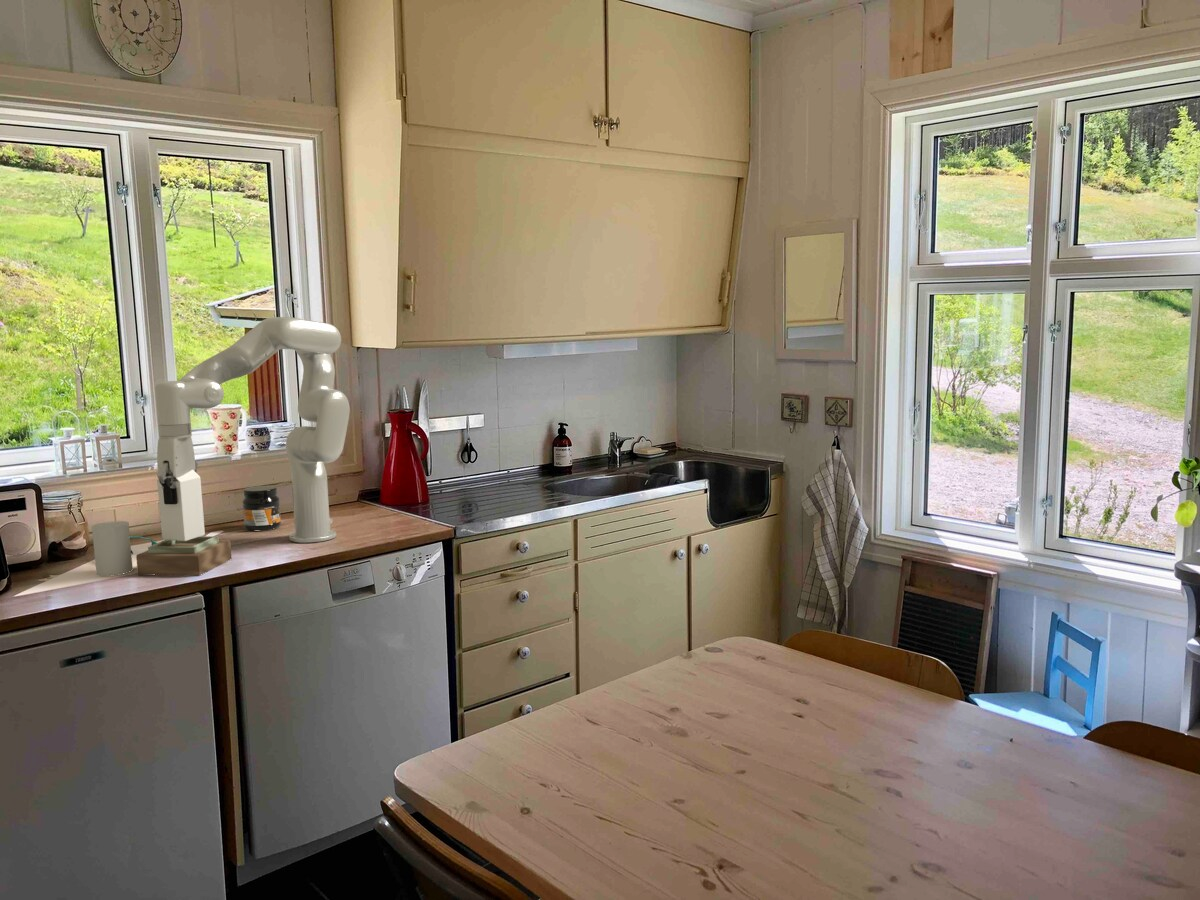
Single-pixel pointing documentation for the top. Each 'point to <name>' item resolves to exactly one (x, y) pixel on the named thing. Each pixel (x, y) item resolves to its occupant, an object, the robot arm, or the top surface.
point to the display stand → (184, 556)
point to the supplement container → (261, 508)
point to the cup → (112, 548)
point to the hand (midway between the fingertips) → (180, 500)
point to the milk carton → (183, 509)
